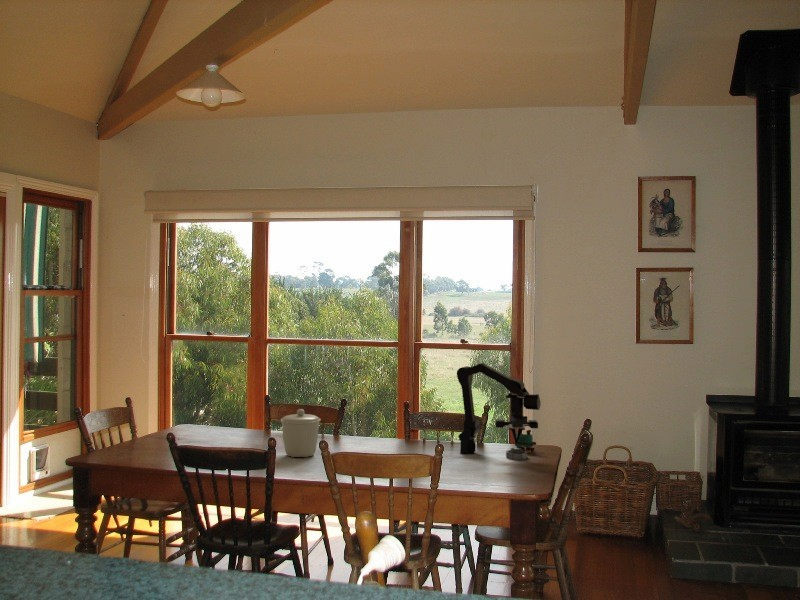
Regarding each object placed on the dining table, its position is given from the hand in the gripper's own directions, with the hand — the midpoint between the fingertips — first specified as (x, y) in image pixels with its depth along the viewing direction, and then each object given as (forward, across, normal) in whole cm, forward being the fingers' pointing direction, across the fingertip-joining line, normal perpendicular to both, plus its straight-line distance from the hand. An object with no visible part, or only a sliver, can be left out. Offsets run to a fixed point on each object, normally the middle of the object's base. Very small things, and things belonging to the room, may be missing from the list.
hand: (516, 443), depth 337 cm
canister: (+7, -97, -7) cm, 97 cm away
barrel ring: (+6, 0, 0) cm, 7 cm away
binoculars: (+7, +5, +15) cm, 17 cm away
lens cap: (+7, 0, 0) cm, 7 cm away
